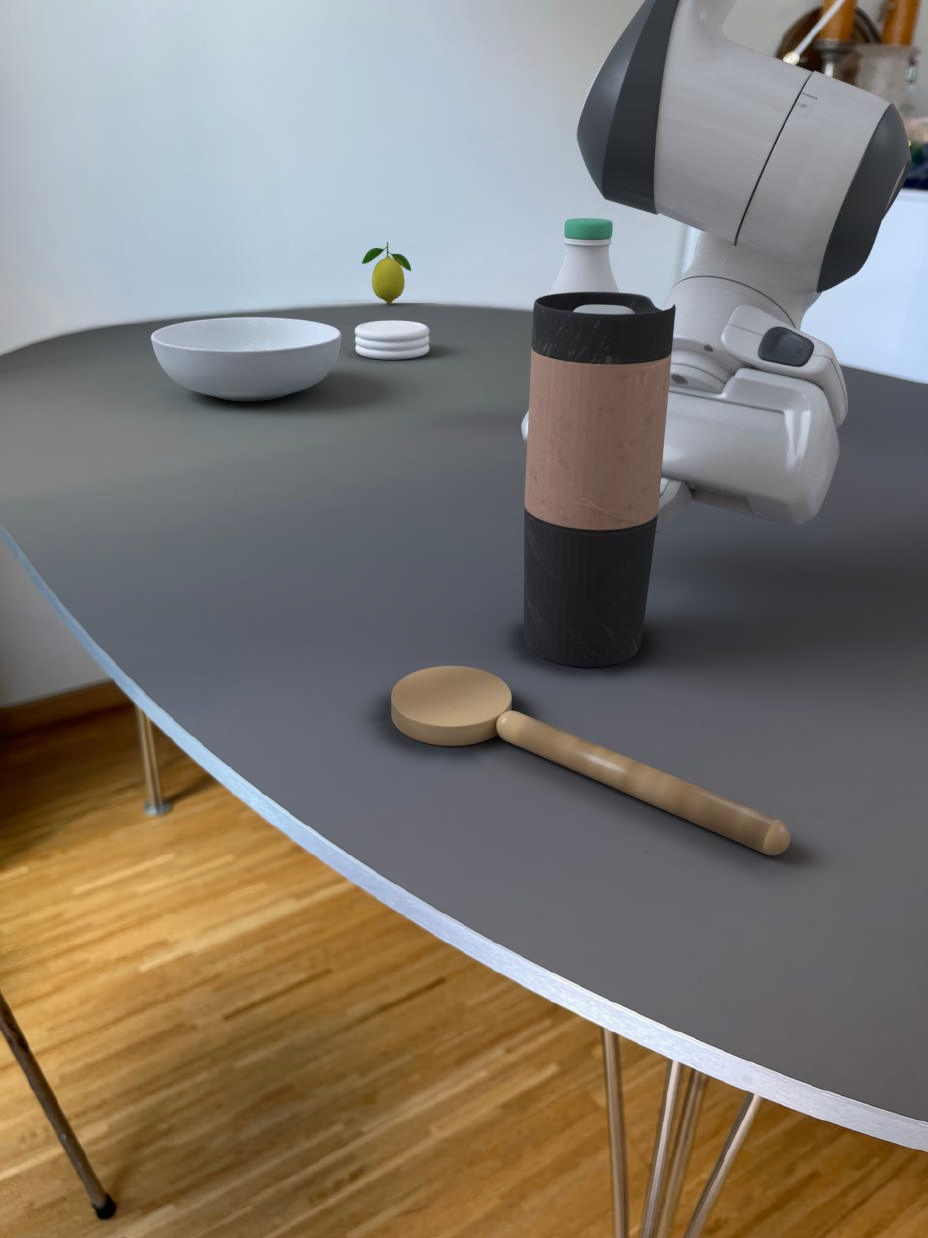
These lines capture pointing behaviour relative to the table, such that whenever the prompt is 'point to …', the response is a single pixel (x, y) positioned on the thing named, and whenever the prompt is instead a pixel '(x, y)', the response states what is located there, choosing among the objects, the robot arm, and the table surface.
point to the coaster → (392, 340)
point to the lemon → (387, 274)
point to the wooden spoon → (563, 750)
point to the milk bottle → (586, 257)
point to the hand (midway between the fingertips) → (618, 544)
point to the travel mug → (593, 472)
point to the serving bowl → (247, 355)
